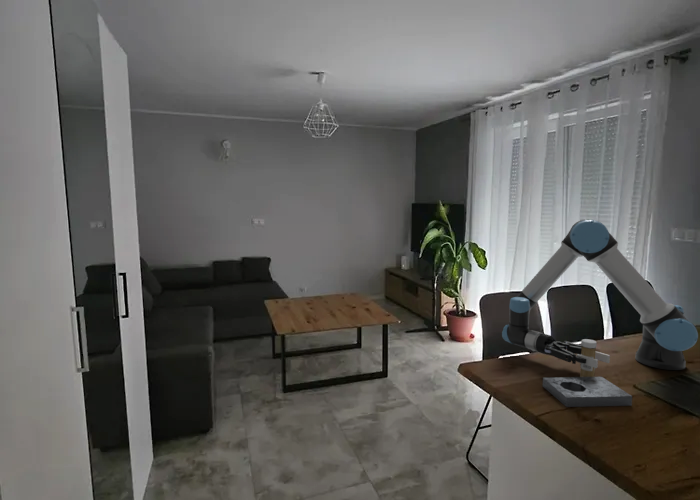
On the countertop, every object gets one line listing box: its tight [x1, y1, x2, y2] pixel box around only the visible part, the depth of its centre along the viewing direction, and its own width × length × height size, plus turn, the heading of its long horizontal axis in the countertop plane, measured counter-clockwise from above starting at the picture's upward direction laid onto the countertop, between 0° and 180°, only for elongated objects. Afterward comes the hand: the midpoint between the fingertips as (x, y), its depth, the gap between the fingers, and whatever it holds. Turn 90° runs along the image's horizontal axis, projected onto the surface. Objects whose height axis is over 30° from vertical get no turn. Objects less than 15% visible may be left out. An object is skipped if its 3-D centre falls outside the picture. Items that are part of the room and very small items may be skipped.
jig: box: [542, 376, 633, 408], centre depth 125 cm, size 20×14×3 cm
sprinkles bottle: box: [579, 338, 598, 377], centre depth 137 cm, size 5×5×13 cm
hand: (603, 361), depth 133 cm, fingers open, 7 cm apart
